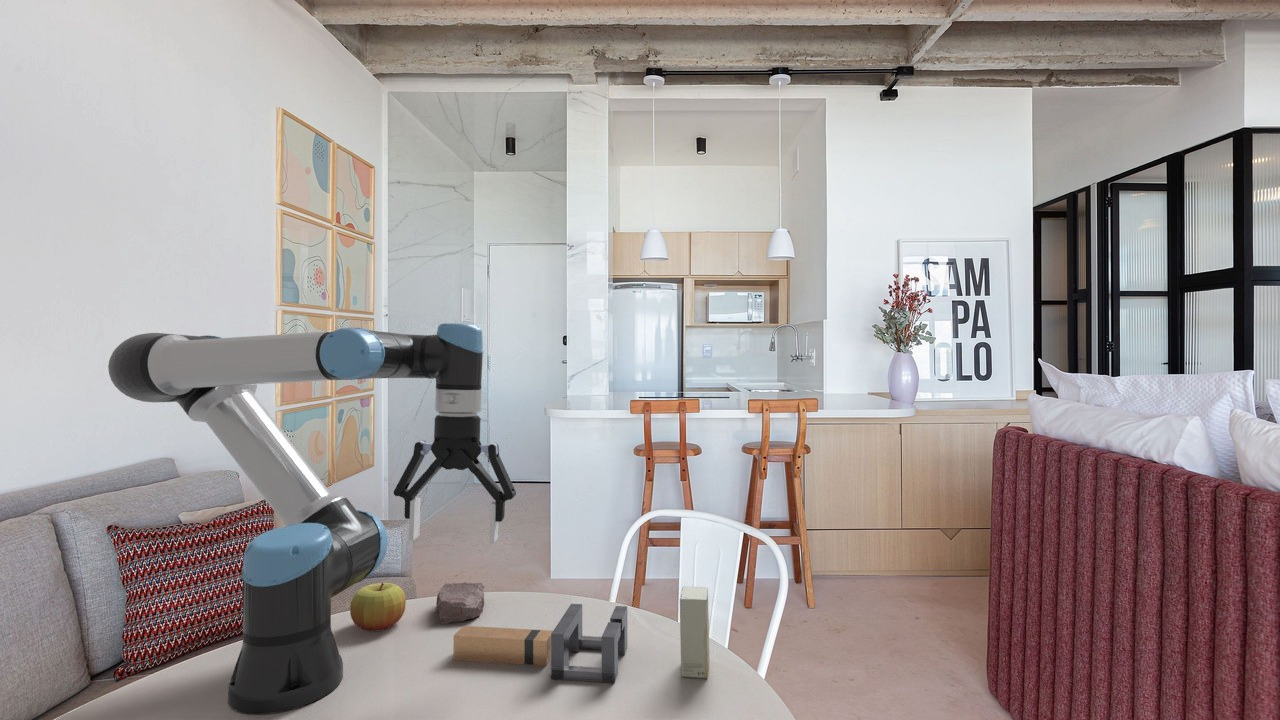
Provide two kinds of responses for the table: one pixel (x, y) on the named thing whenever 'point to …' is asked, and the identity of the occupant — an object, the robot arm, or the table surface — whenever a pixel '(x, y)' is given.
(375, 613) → the apple
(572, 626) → the grey open frame bracket
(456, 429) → the robot arm
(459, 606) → the stone
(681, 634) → the skincare box
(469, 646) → the block
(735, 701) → the table surface
